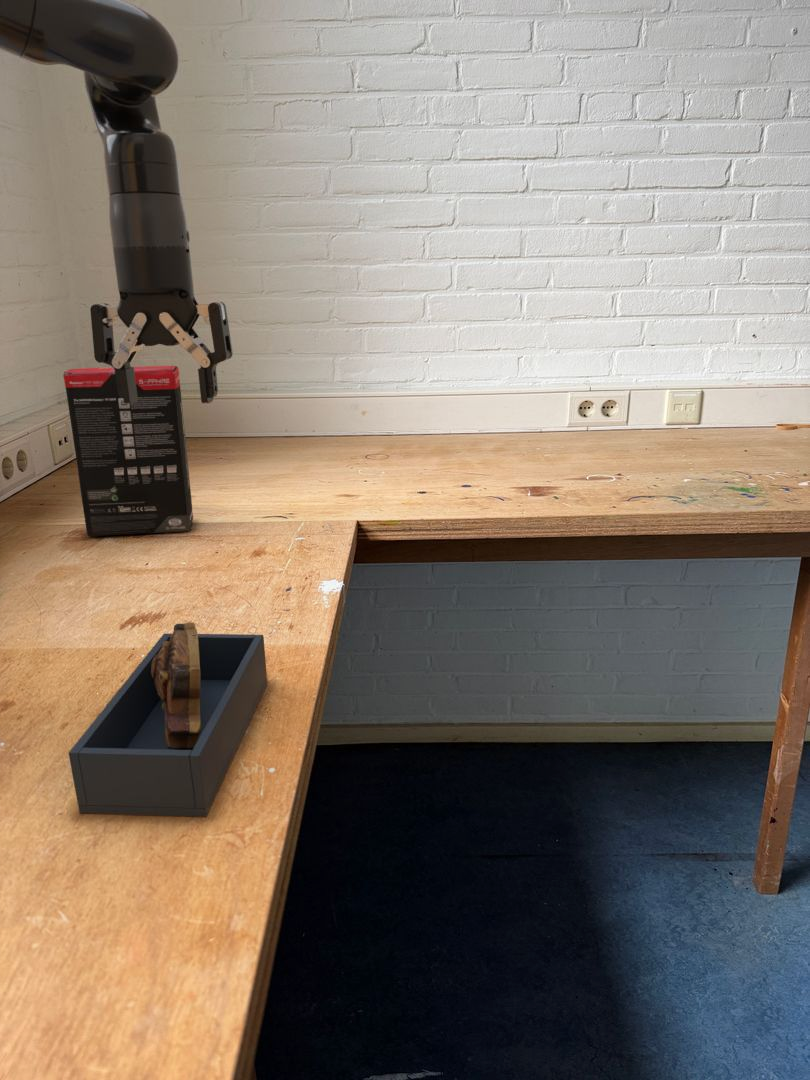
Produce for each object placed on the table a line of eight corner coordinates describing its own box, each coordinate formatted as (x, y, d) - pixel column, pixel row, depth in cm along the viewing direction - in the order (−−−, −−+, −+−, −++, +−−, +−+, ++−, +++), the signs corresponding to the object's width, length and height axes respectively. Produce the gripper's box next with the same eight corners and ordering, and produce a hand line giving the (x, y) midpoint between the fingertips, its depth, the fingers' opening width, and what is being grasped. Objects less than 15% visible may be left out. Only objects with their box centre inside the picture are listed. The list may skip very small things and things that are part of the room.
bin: (79, 813, 65) (67, 752, 63) (170, 682, 85) (163, 633, 84) (206, 817, 64) (199, 755, 62) (267, 683, 85) (263, 634, 83)
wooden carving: (152, 695, 81) (140, 605, 78) (198, 686, 83) (188, 597, 80) (168, 788, 67) (154, 682, 63) (223, 775, 68) (212, 671, 65)
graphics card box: (196, 520, 140) (179, 362, 131) (193, 533, 133) (174, 367, 124) (94, 527, 137) (69, 366, 128) (86, 540, 131) (59, 372, 122)
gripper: (66, 244, 78) (90, 409, 84) (208, 241, 77) (224, 408, 83) (99, 246, 86) (119, 397, 91) (229, 243, 85) (242, 396, 90)
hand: (169, 402), depth 87 cm, fingers open, 8 cm apart
